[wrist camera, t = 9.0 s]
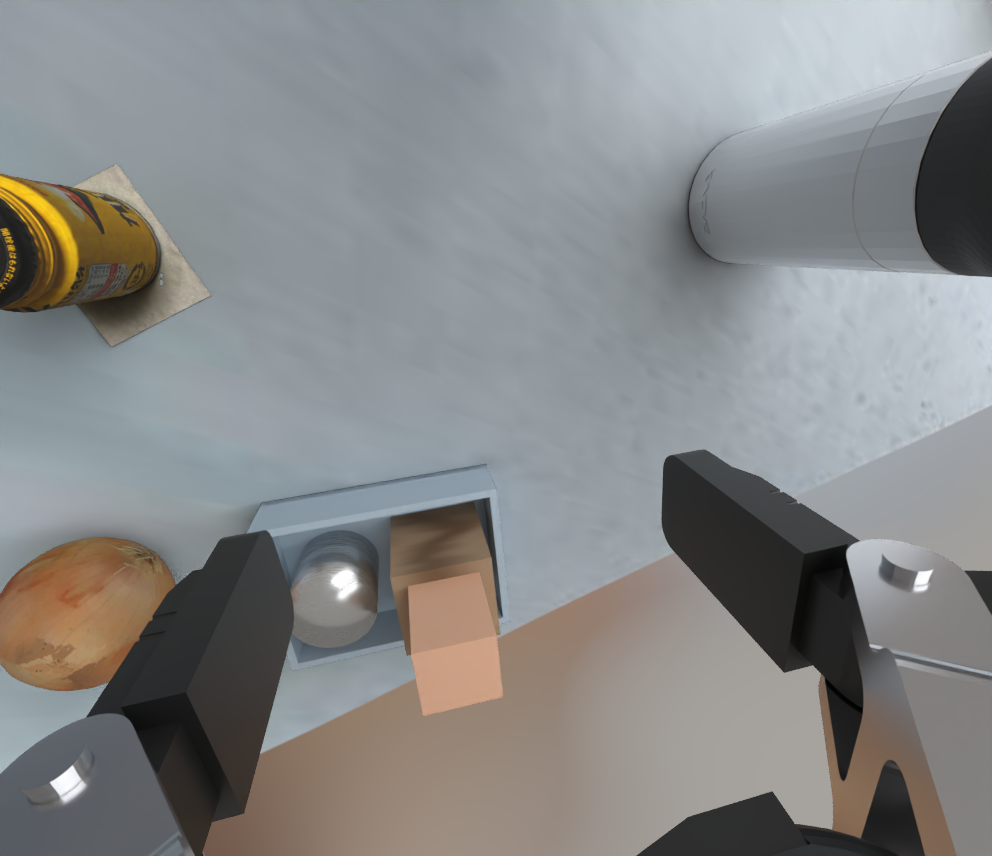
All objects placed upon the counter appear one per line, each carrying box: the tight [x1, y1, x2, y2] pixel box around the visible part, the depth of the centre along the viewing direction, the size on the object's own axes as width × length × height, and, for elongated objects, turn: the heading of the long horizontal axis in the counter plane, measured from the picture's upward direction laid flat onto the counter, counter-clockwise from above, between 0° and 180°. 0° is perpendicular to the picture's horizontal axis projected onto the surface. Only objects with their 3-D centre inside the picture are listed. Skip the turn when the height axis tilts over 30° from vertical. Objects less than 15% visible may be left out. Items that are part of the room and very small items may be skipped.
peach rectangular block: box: [408, 572, 503, 716], centre depth 31 cm, size 5×5×6 cm
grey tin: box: [290, 530, 379, 648], centre depth 38 cm, size 6×6×6 cm
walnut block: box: [390, 502, 500, 656], centre depth 38 cm, size 7×7×8 cm
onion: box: [0, 538, 176, 691], centre depth 33 cm, size 10×10×10 cm
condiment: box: [0, 164, 210, 346], centre depth 25 cm, size 7×8×12 cm
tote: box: [247, 464, 511, 671], centre depth 39 cm, size 18×13×4 cm
